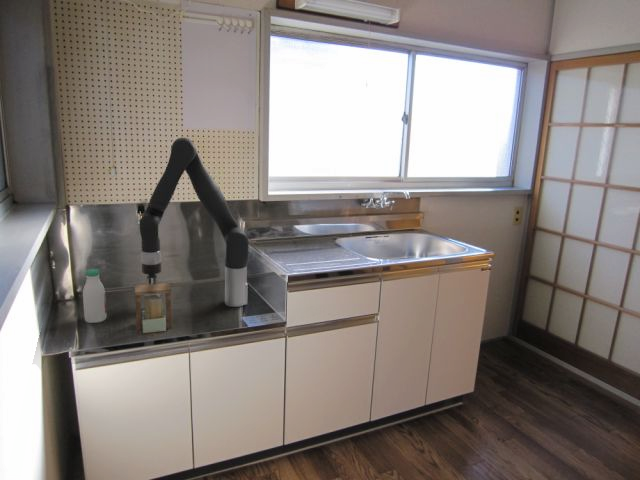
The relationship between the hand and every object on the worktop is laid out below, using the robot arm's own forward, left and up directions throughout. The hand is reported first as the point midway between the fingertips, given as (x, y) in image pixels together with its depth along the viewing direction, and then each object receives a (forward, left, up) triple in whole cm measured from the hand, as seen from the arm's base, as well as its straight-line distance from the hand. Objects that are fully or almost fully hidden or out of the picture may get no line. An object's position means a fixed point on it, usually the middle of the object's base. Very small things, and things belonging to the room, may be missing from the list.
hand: (152, 300), depth 191 cm
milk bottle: (+21, +7, -3) cm, 22 cm away
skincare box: (0, +19, -3) cm, 20 cm away
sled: (0, +14, -3) cm, 14 cm away
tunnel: (0, +18, -3) cm, 18 cm away
